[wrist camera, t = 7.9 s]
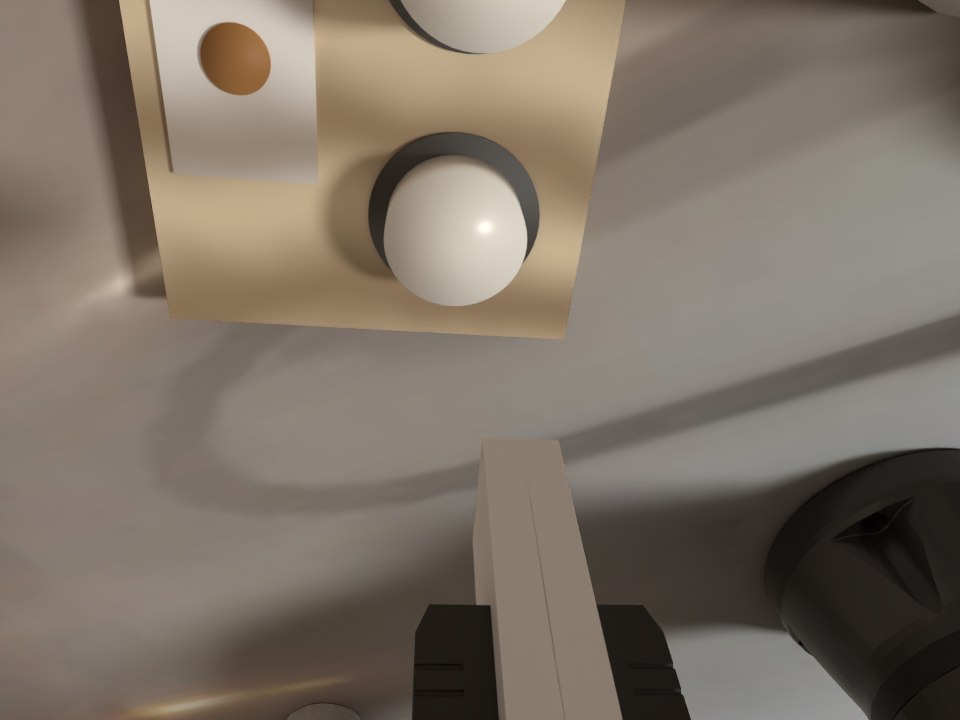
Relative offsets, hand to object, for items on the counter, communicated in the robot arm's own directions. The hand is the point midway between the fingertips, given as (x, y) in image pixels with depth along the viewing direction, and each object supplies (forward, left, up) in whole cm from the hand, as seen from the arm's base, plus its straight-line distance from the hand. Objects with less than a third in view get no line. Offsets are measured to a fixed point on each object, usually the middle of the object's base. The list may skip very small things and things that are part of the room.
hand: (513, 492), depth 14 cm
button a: (0, +1, -14) cm, 14 cm away
